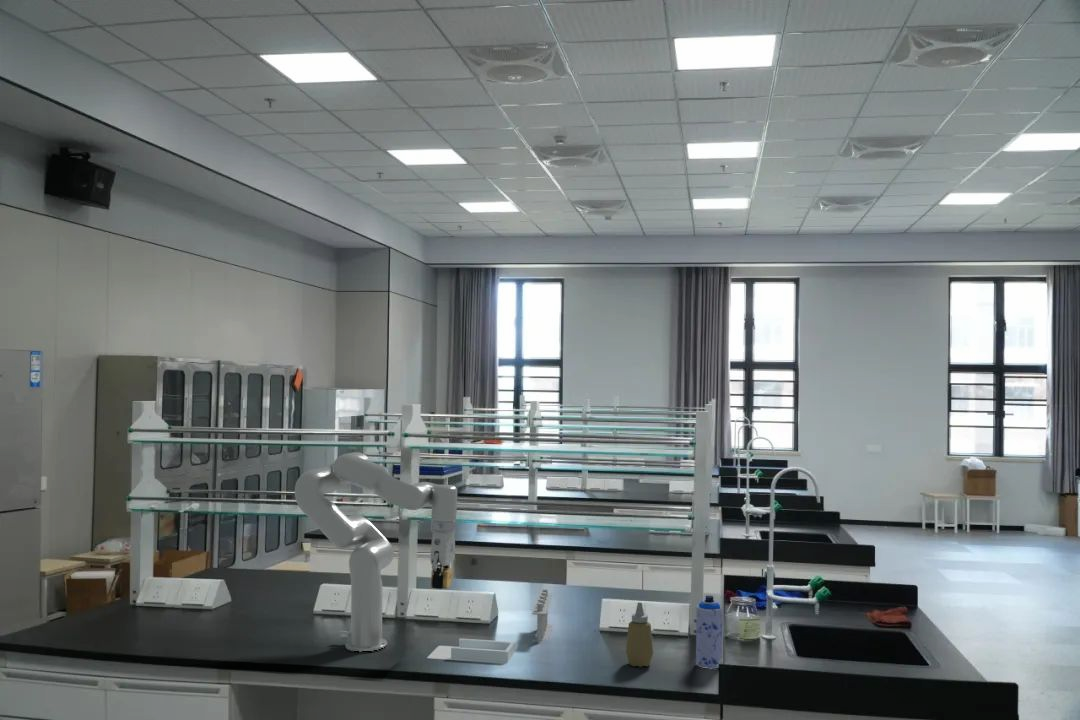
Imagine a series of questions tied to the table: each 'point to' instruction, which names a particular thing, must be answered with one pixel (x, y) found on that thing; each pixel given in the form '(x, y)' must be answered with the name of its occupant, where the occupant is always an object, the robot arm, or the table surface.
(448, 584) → the block
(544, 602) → the test tube rack
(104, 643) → the table surface
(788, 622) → the table surface
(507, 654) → the channel
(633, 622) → the squeeze bottle
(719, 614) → the aerosol can
